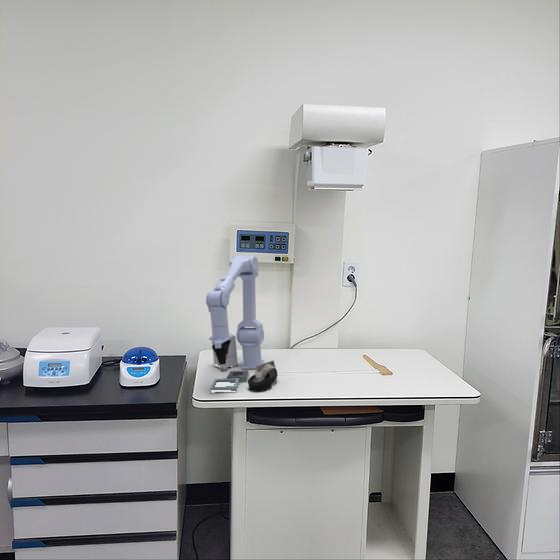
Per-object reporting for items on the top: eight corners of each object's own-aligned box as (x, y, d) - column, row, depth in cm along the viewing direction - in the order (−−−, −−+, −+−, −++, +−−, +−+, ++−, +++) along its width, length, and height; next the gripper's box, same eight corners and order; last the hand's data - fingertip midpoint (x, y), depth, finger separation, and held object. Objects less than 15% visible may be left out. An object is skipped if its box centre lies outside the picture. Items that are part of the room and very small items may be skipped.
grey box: (230, 361, 206) (227, 332, 204) (238, 366, 200) (235, 335, 198) (213, 366, 202) (210, 335, 201) (221, 370, 196) (218, 339, 194)
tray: (215, 384, 181) (214, 379, 181) (239, 382, 181) (239, 378, 180) (210, 393, 172) (210, 388, 172) (236, 392, 172) (236, 386, 171)
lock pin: (220, 369, 177) (218, 353, 176) (229, 368, 177) (227, 352, 176) (219, 372, 174) (217, 356, 173) (228, 372, 174) (226, 355, 173)
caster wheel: (253, 399, 170) (248, 386, 180) (284, 388, 172) (277, 375, 182) (248, 383, 168) (243, 370, 178) (280, 372, 170) (273, 359, 179)
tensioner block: (230, 376, 188) (229, 371, 188) (248, 375, 188) (248, 370, 188) (227, 382, 181) (227, 377, 181) (246, 381, 181) (246, 376, 181)
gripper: (212, 320, 180) (215, 357, 182) (204, 330, 166) (208, 369, 168) (231, 319, 180) (234, 355, 182) (225, 329, 166) (229, 368, 168)
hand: (223, 362), depth 175 cm, fingers closed on lock pin, 3 cm apart
